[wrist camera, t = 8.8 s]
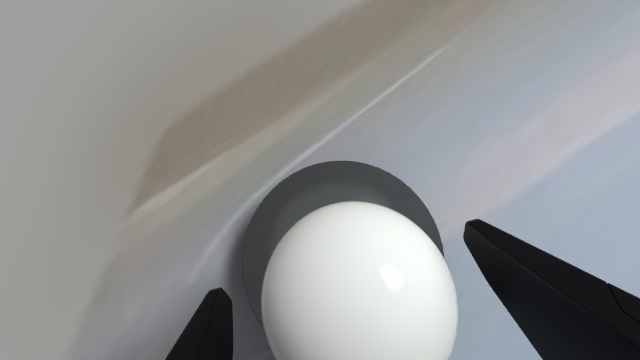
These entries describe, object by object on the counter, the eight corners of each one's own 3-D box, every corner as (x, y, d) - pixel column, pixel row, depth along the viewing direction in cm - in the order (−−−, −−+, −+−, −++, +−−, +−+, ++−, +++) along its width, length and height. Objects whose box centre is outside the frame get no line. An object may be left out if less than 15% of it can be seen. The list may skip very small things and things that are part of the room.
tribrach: (376, 388, 18) (384, 417, 15) (218, 286, 19) (201, 295, 17) (460, 222, 19) (479, 222, 17) (308, 138, 21) (305, 126, 18)
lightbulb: (362, 337, 16) (431, 567, 5) (275, 280, 17) (176, 377, 6) (410, 245, 17) (557, 278, 6) (325, 195, 18) (320, 144, 7)
